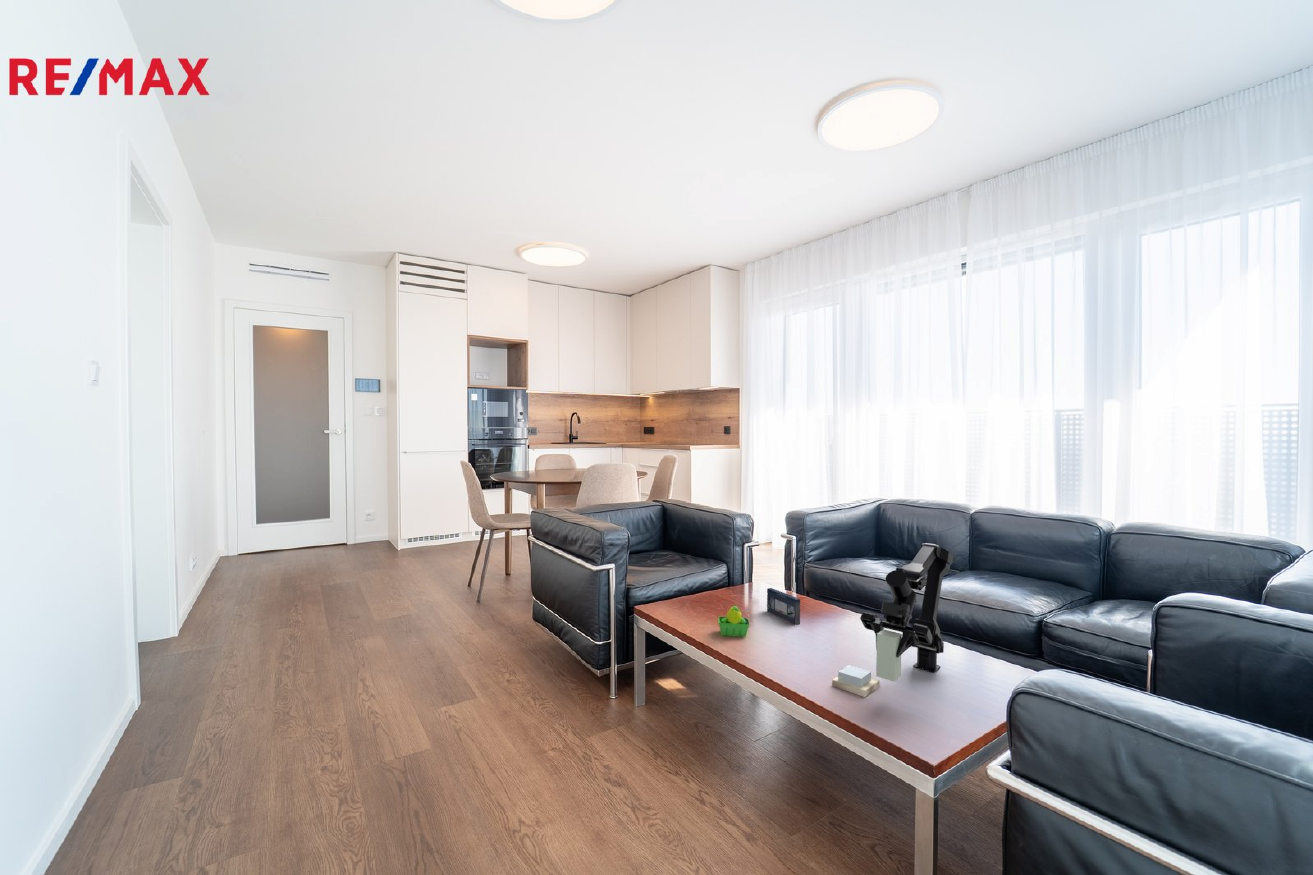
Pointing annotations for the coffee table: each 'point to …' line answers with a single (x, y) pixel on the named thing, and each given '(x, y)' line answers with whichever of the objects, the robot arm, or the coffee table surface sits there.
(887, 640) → the column
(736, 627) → the fruit basket
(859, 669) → the tower top
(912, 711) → the coffee table surface
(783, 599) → the vhs cassette tape
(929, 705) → the coffee table surface
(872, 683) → the tower base
